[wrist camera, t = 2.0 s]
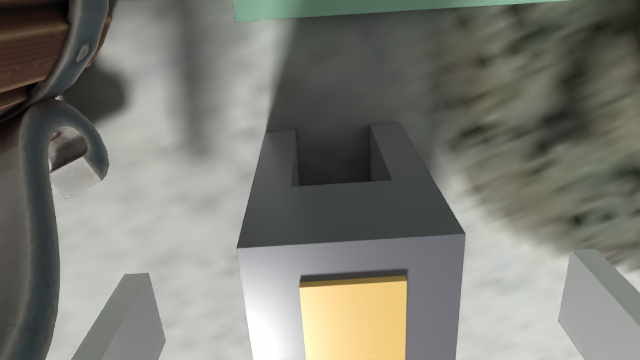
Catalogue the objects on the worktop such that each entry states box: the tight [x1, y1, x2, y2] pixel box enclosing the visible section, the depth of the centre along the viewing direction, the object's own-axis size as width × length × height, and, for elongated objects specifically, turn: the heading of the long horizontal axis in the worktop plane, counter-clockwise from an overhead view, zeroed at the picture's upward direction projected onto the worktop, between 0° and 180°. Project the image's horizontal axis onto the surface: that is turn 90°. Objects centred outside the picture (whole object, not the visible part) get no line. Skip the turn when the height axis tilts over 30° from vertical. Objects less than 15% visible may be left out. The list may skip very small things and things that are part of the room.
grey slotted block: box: [236, 123, 466, 360], centre depth 15 cm, size 5×8×8 cm, turn 3°
